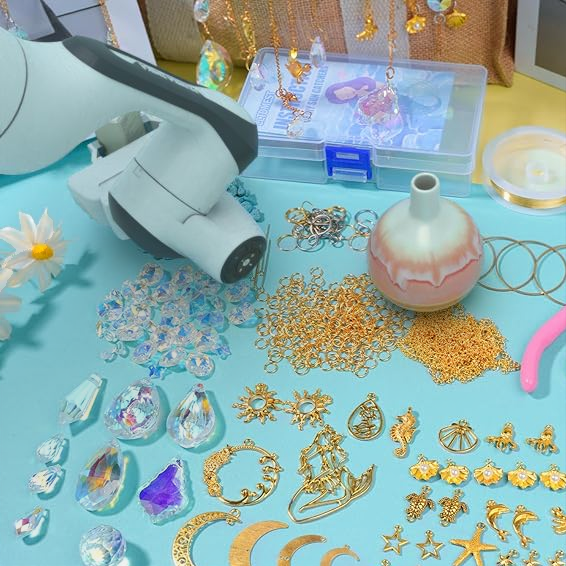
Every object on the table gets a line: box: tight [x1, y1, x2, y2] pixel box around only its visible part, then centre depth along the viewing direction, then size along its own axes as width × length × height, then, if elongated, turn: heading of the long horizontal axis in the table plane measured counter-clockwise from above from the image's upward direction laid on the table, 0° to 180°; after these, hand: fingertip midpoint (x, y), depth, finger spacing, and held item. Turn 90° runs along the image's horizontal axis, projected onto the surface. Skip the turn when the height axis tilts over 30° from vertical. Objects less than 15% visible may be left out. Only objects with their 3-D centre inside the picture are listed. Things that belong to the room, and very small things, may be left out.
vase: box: [365, 171, 485, 313], centre depth 94 cm, size 14×14×18 cm
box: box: [94, 111, 148, 156], centre depth 108 cm, size 5×4×11 cm
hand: (118, 132), depth 108 cm, fingers closed on box, 6 cm apart
